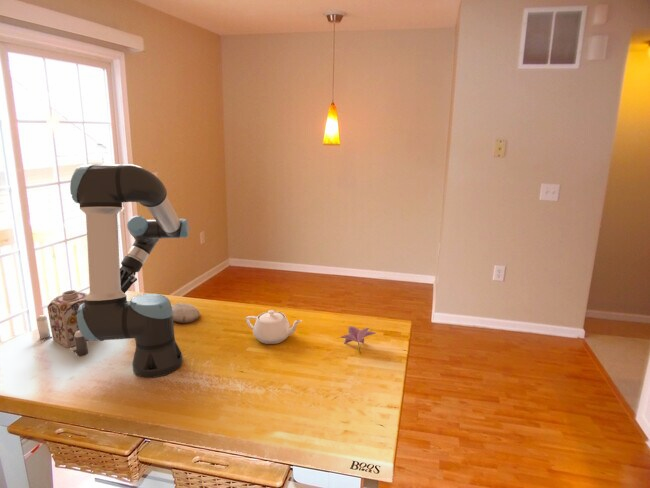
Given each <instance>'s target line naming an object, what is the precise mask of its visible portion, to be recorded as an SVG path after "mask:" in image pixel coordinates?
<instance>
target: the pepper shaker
mask: <svg viewBox="0 0 650 488" xmlns="http://www.w3.org/2000/svg"><path fill="white" fill-rule="evenodd" d="M74 338H75V344H76V345H75V348H76V349H77V353H76V354H77V356H78V357H84V356H86V355H88V354H89V350H88V343H87V341H86V338H84V336H82V334H81V333H80V330H79V331H77V332H75V334H74ZM76 349H75V350H76Z"/></svg>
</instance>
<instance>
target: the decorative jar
mask: <svg viewBox="0 0 650 488" xmlns="http://www.w3.org/2000/svg"><path fill="white" fill-rule="evenodd" d="M88 294H89V293H86V292H78V291H77V290H76V289H73V290H72V289H71V290H66V291H64V292H62V295H58V296H56V297H55V298H53V299H52V300H51V301H50V302H49V304H48V305H47V313H48V318H49V325H50V331H51V335H52V336H51V337H52V340H53V341H55V342H57V343H58V344H60V345H62V346H64V347H66V348H67V349H70V348H72V347H76V344H75V338H74V334H75V332H77V331H79V327H78V323H77V314H78V308H79V307H80V305H81V304H83V303H85V297H86V296H87V295H88ZM88 341H89V340H87V339H86V342H88Z"/></svg>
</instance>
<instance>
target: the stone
mask: <svg viewBox="0 0 650 488" xmlns="http://www.w3.org/2000/svg"><path fill="white" fill-rule="evenodd" d="M171 307H172V310H173V322H175V323H178V324H190V323H192V322H194V321H196V320H198V319H199V318H200V315H201V314H200V311H199V309H198V308H197V307H195V306H194V305H192V304H190V303H185V302H177V303H175V304H172V305H171Z"/></svg>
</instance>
